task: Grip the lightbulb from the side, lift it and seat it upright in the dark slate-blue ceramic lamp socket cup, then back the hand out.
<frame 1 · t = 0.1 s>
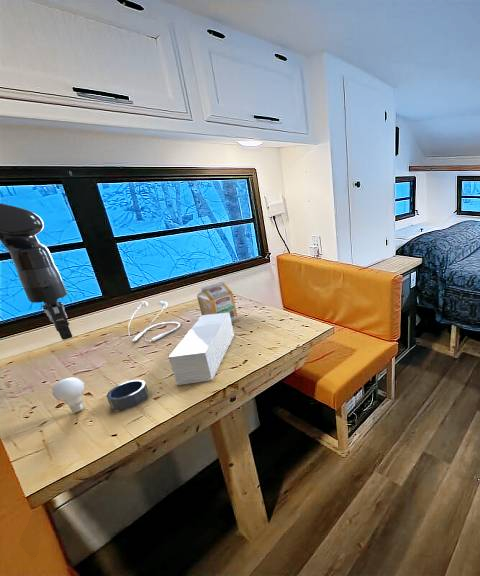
hand: (64, 334, 90), 21 cm above the table, tool pointing down, fingers open, 8 cm apart
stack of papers: (209, 357, 115), on the table
socket: (130, 399, 93), on the table
earphone: (156, 333, 134), on the table
lightbulb: (79, 411, 89), on the table
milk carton: (221, 322, 143), on the table
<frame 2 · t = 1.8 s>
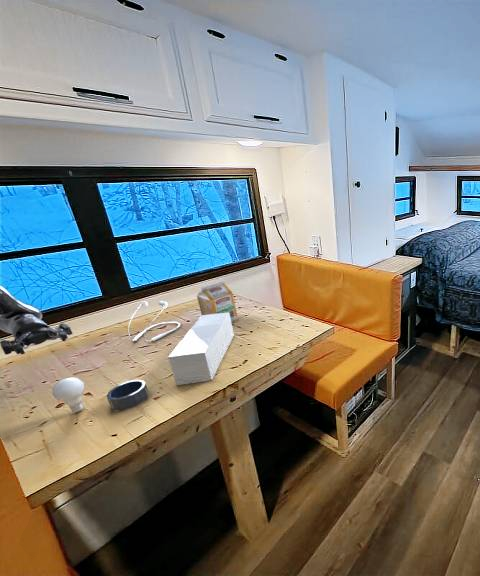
hand: (43, 344, 89), 19 cm above the table, tool horizontal, fingers open, 8 cm apart
nothing on the table moved.
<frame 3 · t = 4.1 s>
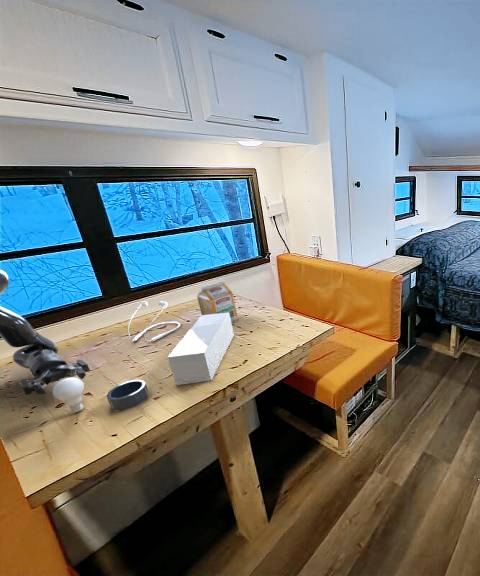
hand: (63, 383, 91), 7 cm above the table, tool horizontal, fingers open, 8 cm apart
nothing on the table moved.
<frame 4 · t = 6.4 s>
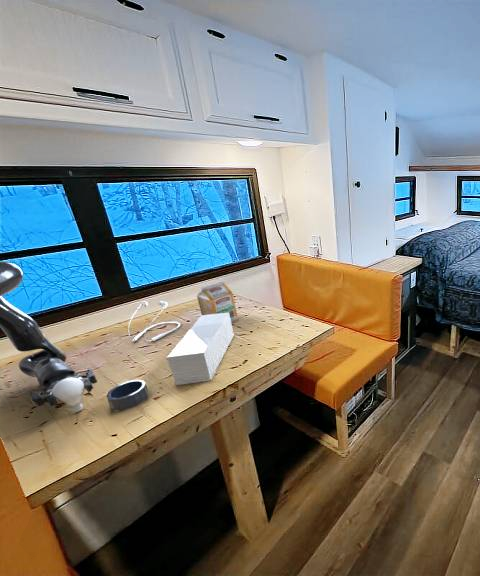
hand: (73, 395, 86), 7 cm above the table, tool horizontal, fingers closed on lightbulb, 6 cm apart
lightbulb: (79, 411, 89), on the table, touching gripper
everything else where it was.
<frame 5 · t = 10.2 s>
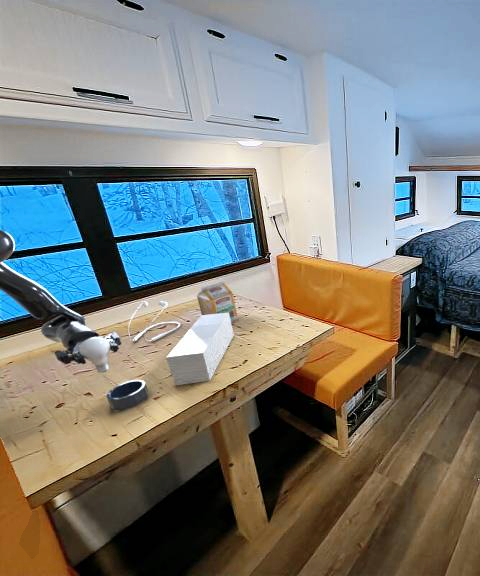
hand: (99, 354, 85), 18 cm above the table, tool horizontal, fingers closed on lightbulb, 6 cm apart
lightbulb: (104, 372, 89), point 11 cm above the table, touching gripper
everything else where it was.
when the fingers open (7 cm above the table, at t = 14.1 s): lightbulb stays where it is, resting on socket.
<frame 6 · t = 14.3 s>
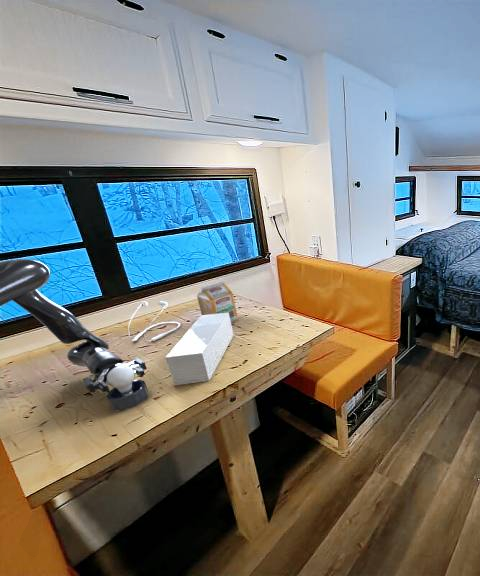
hand: (125, 381, 90), 8 cm above the table, tool horizontal, fingers open, 8 cm apart
lightbulb: (129, 398, 93), point 1 cm above the table, touching socket
everything else where it was.
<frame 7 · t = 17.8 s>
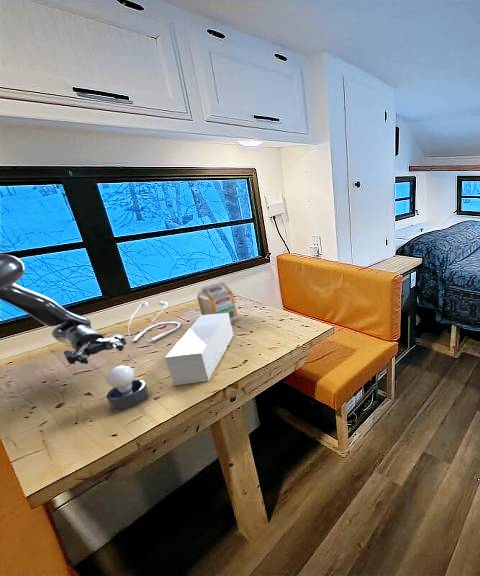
hand: (104, 354, 95), 13 cm above the table, tool horizontal, fingers open, 8 cm apart
nothing on the table moved.
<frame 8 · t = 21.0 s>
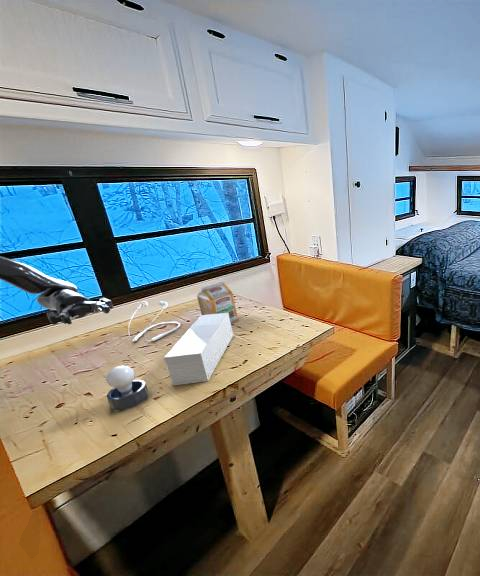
hand: (88, 315, 90), 26 cm above the table, tool horizontal, fingers open, 8 cm apart
nothing on the table moved.
at the end: lightbulb 0.2 cm off-centre in the socket, point 0.6 cm above the socket's base; lightbulb tilted 0°; the gripper is holding nothing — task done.
